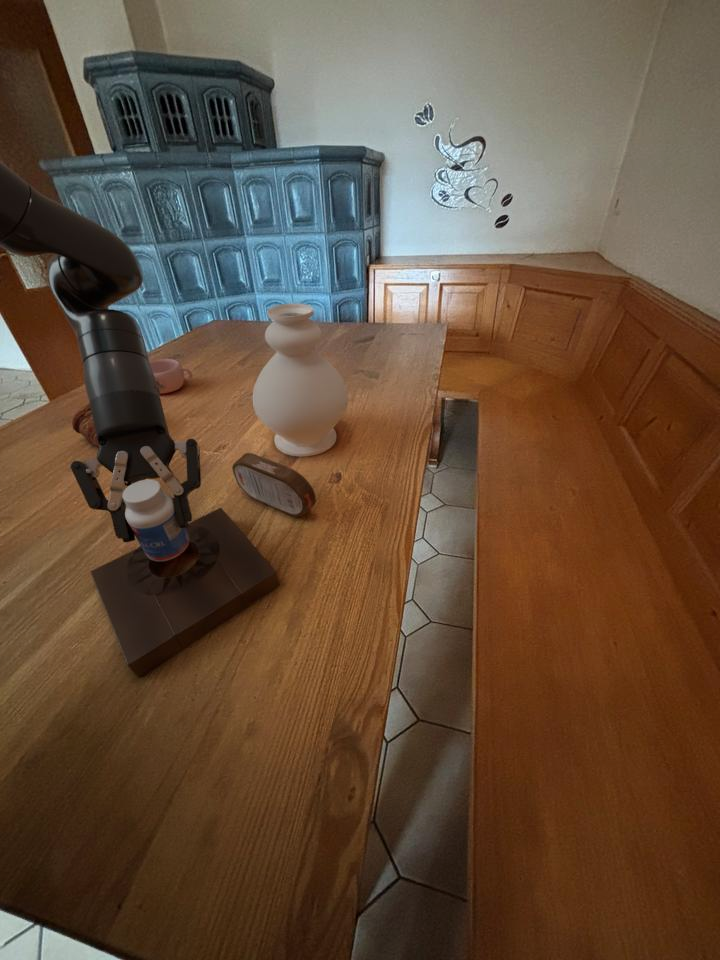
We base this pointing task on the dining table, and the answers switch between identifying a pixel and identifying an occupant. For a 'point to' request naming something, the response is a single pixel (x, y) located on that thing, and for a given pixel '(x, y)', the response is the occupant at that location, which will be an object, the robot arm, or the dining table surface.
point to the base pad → (182, 591)
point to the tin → (274, 484)
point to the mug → (169, 374)
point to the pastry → (85, 424)
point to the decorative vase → (298, 385)
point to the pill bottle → (154, 520)
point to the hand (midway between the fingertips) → (157, 533)
